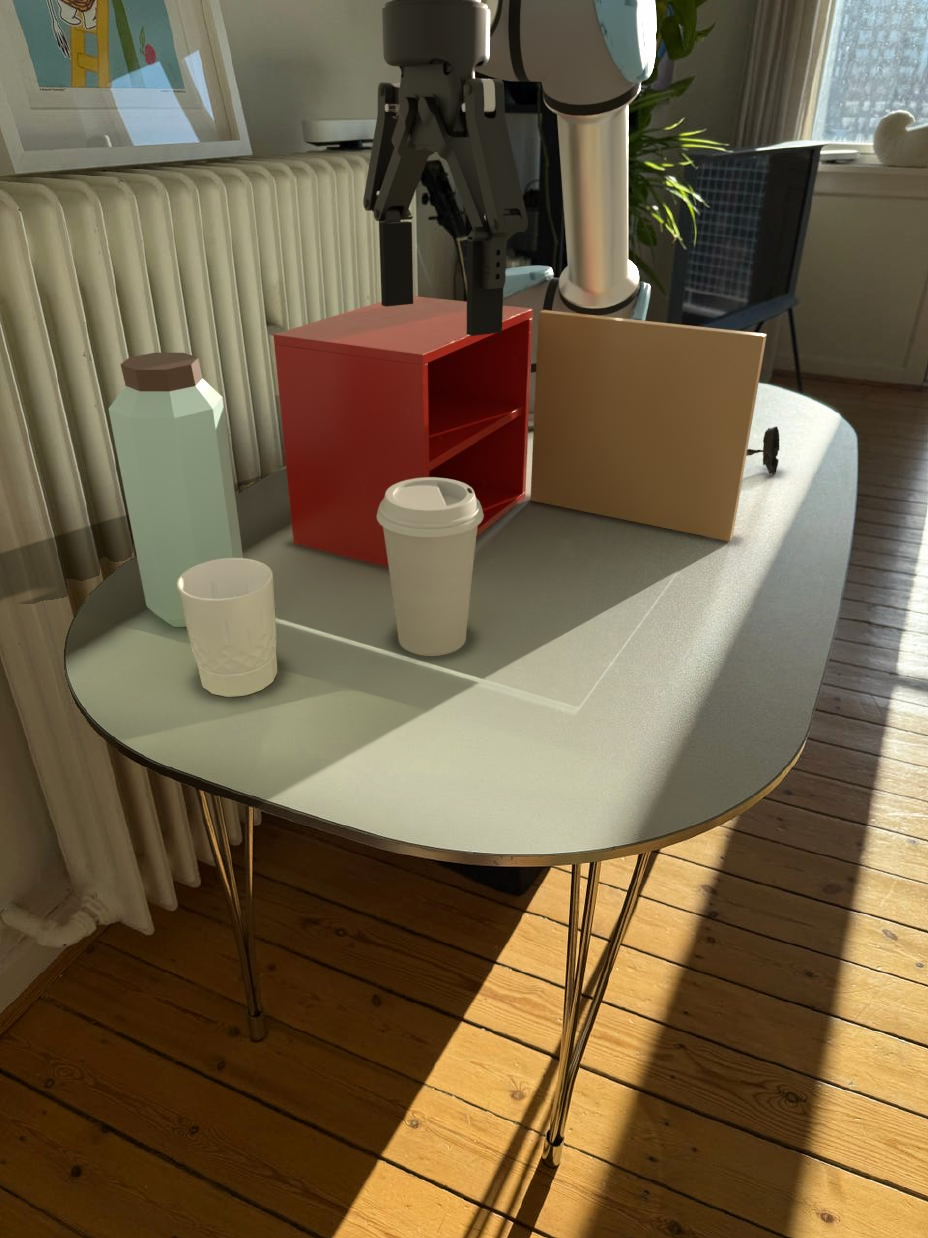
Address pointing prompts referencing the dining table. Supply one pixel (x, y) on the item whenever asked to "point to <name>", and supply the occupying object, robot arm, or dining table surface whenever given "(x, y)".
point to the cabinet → (399, 415)
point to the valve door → (644, 419)
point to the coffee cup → (430, 560)
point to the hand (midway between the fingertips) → (438, 318)
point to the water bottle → (174, 473)
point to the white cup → (231, 624)
